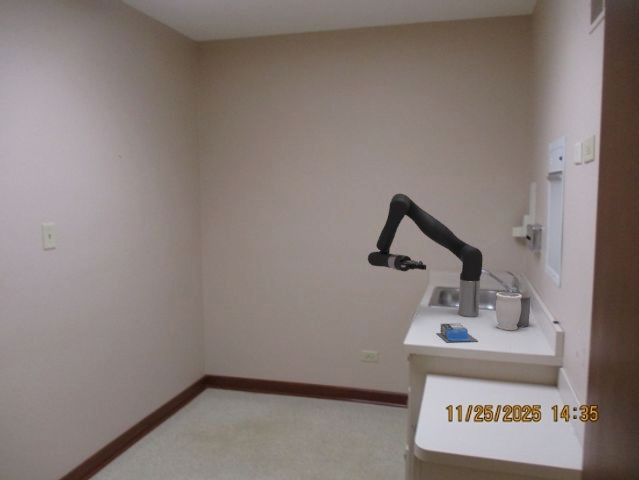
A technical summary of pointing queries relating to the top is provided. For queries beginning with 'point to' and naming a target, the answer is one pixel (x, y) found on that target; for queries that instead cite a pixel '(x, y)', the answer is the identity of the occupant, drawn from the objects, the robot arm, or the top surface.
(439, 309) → the top surface
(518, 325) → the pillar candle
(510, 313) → the jar
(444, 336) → the mat
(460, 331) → the label tape box
